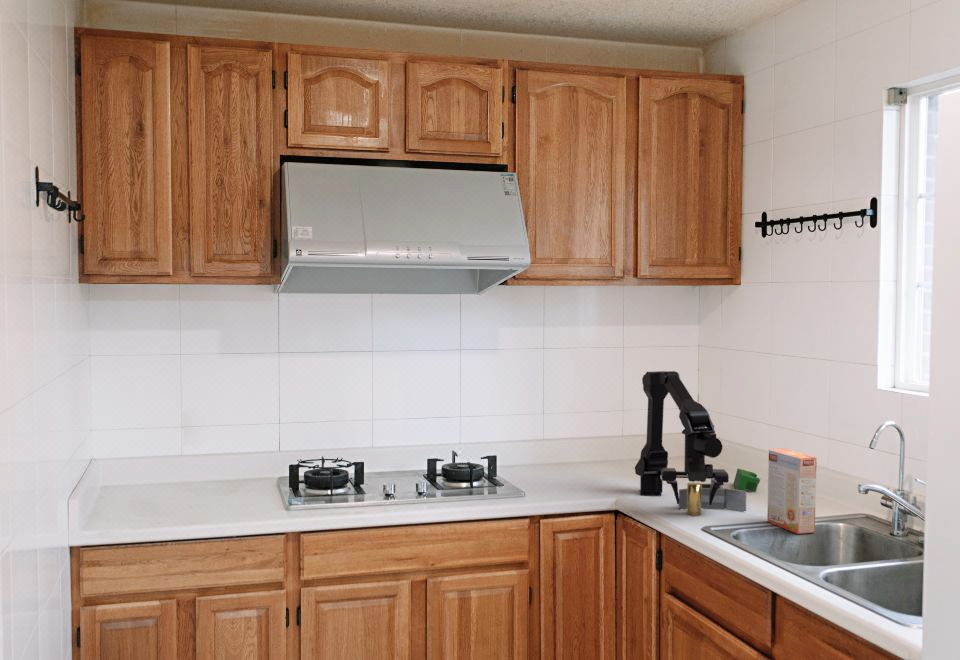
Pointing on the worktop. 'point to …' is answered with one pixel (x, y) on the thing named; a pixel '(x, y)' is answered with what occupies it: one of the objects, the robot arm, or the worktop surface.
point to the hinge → (717, 498)
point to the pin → (694, 499)
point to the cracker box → (792, 490)
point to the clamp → (746, 480)
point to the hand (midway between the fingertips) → (694, 504)
